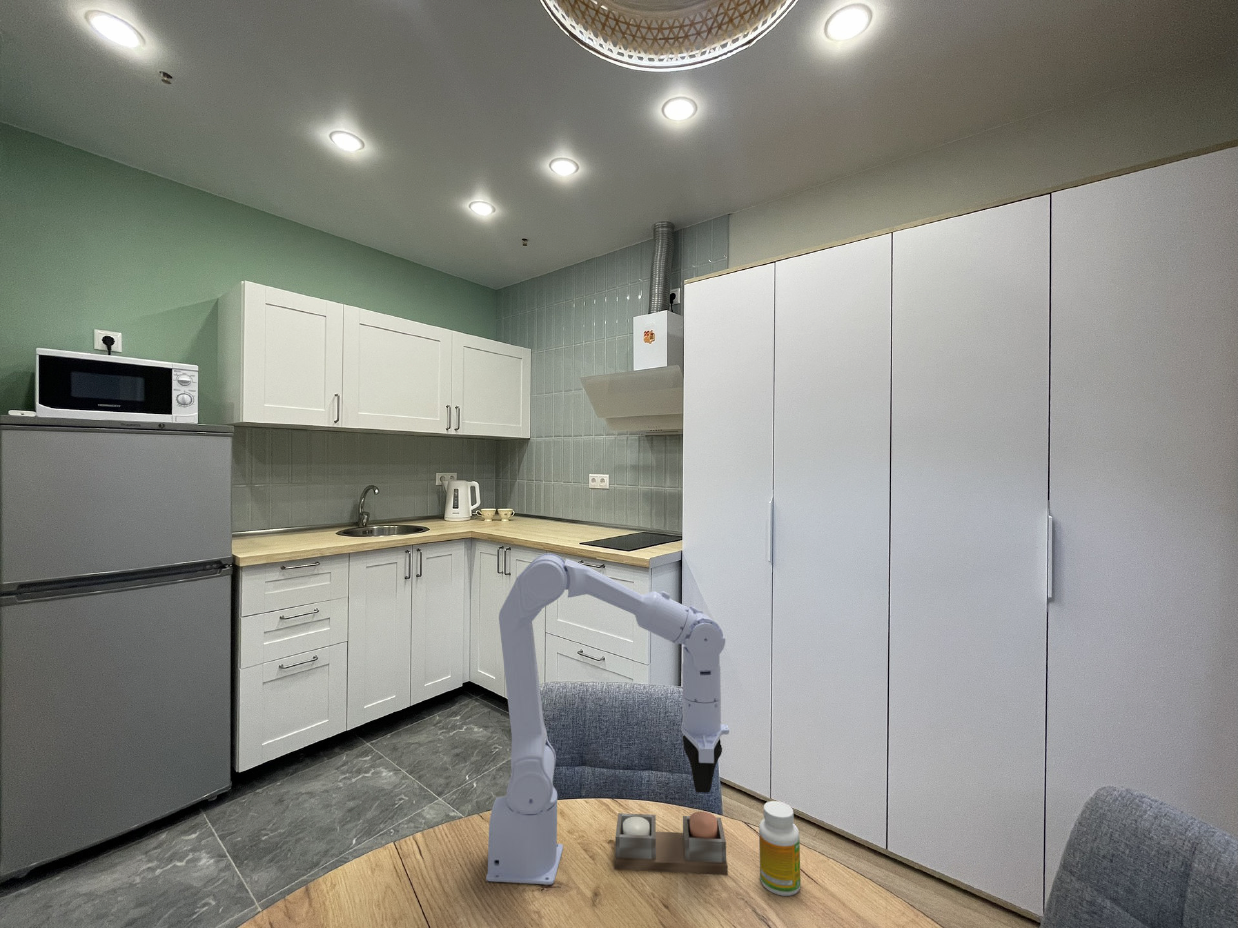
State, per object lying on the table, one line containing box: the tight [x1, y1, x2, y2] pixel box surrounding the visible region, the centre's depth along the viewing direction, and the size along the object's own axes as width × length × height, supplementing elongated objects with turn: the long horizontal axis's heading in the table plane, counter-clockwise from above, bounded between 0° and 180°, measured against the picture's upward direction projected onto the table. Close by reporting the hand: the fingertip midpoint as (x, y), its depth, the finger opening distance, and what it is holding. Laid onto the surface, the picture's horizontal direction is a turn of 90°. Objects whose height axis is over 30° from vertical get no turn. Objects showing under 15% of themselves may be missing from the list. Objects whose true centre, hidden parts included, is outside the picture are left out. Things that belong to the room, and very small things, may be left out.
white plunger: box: [623, 817, 650, 836], centre depth 77 cm, size 4×4×2 cm
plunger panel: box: [613, 812, 729, 876], centre depth 77 cm, size 16×7×4 cm, turn 86°
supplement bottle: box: [758, 800, 802, 897], centre depth 72 cm, size 5×5×10 cm
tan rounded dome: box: [690, 811, 718, 839], centre depth 77 cm, size 4×4×2 cm
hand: (702, 790), depth 77 cm, fingers closed
